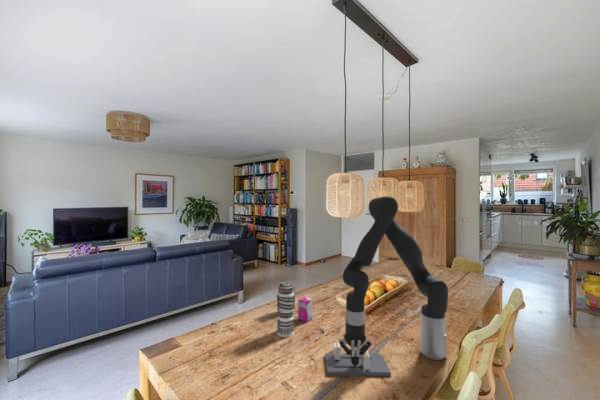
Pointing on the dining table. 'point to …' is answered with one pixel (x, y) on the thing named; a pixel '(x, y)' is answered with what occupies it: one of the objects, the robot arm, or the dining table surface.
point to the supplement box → (305, 309)
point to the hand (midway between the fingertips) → (354, 364)
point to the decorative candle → (285, 309)
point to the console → (347, 369)
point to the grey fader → (365, 361)
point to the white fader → (337, 351)
